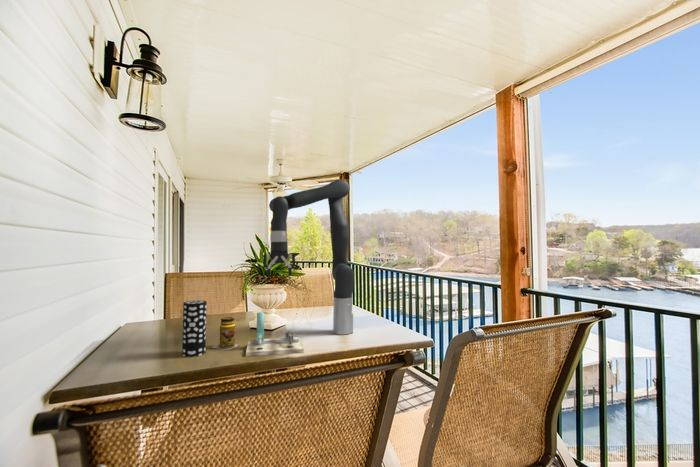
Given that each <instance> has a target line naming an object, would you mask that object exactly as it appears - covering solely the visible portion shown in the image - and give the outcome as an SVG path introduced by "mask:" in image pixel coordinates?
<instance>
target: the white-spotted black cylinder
mask: <svg viewBox="0 0 700 467" xmlns="http://www.w3.org/2000/svg"><path fill="white" fill-rule="evenodd" d="M207 305H208V303H207V301H206V300H198V299H197V300H187V301H183V304H182V307H183V309H182V310H183V311H182V338H181V339H182V343H181V344H182V345H181V355H182V356H183V357H186V358H192V357H193V358H194V357H200V356H203V355H205V354H206V346H207V345H206V343H207V341H206V340H207Z"/></svg>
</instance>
